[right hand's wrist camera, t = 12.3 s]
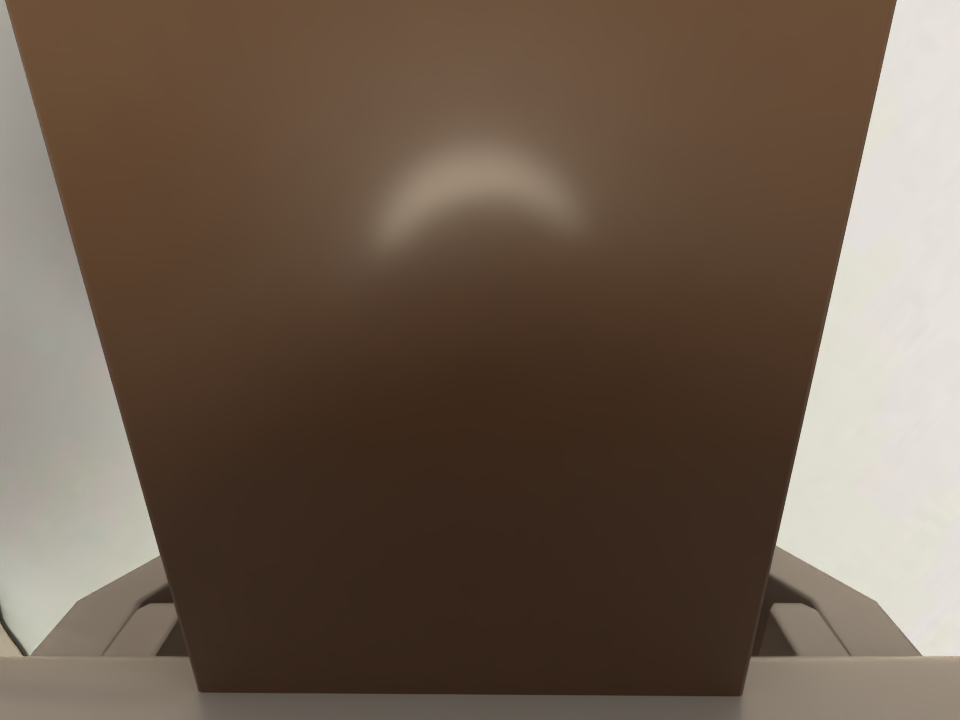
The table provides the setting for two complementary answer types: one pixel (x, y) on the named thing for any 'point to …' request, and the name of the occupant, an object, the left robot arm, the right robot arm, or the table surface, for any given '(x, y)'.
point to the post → (460, 319)
